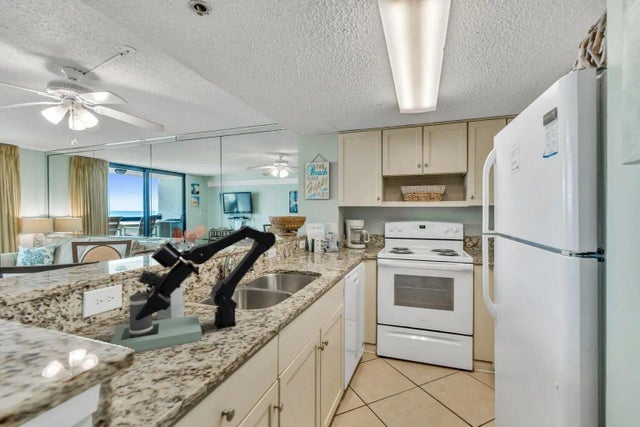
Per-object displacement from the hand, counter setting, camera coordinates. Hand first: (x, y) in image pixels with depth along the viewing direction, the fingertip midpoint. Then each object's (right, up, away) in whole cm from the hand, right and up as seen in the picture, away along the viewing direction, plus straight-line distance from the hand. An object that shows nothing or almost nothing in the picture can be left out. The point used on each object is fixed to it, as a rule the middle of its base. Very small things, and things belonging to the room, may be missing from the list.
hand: (136, 316), depth 89 cm
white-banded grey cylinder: (+1, -7, +1) cm, 7 cm away
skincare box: (0, -8, +19) cm, 21 cm away
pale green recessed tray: (+5, -8, +3) cm, 10 cm away
